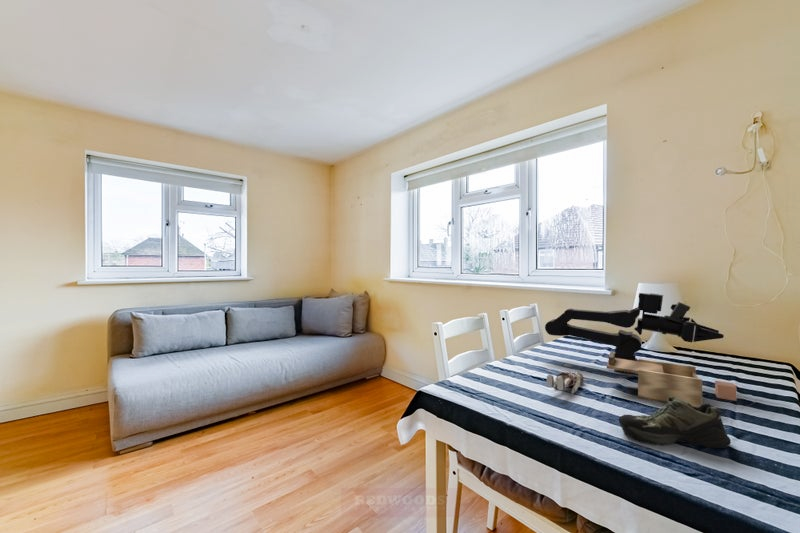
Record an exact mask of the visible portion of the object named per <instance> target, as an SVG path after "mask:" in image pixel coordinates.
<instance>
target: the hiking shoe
mask: <svg viewBox="0 0 800 533" xmlns="http://www.w3.org/2000/svg"><path fill="white" fill-rule="evenodd" d="M723 413H724V411H721V410H719V409H718V408H717V407H716V406H714V405H713V404H710V403H702V405H701V406H700V407H694V406H692V405H691V404H690V403H688V402H685V401H682V400H680V399H678V398H676V399H675V398H674V397H668V400H667V402H666V403H664V405H662V406H661V407H660V408H658V409H657V410H655V411H654V412H653V413H652V414H650V415H646V414H645V415H644V414H642V415H633V414H623V415H621V416H619V418H618V423H619V425H620V427H621V430H622V431H623V433H624V434H625V435H626V436H627V437H630V439H633V440H635V441H637V442H639V443H643V444H650V445H655V446H666V445H672V444H674V443H676V442H682V443H688V444H692V445H696V446H700V447H705V448H711V449H712V448H713V449H724V448H727V447H728V446H730V445H731V443H732V439H731V438H730V437H729V436H728V434H727V433H726V429H725V426H724V423H723V420H722V414H723Z"/></svg>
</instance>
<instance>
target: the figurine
mask: <svg viewBox="0 0 800 533" xmlns="http://www.w3.org/2000/svg"><path fill="white" fill-rule="evenodd" d="M584 382H585V377H584V375H583V374H582V373H580V372H579V371H578V372H571V371H568V372H567V371H566V372H561V373H559V374H558V375H556V378H555V379H554V376H553V375H552V374H548V375H547V376H546V386H547V388H553V389H554V390H559V391H565V389H566V388H567V389H568V388H569V387H571V386H572V388H571V393H570V394H571V395H574V394H575V393H576V392H577V390H578V389H579V387H580V385H581V384H583V383H584Z"/></svg>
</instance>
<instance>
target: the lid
mask: <svg viewBox="0 0 800 533" xmlns="http://www.w3.org/2000/svg"><path fill="white" fill-rule="evenodd" d="M606 369H608V370H619V371H625V372H631V373H636V374H637V375H638V369H640V370H647V371H653V372H659V373H664V372H663V367H662V365H660V364H654V363H647V362H640V361H638V360H637V361H633V360H626V359H619V358H615V351H610V352H609V355H608V360H607V364H606ZM619 371H618V372H619ZM625 372H624V373H625ZM631 373H630V374H631Z"/></svg>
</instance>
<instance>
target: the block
mask: <svg viewBox="0 0 800 533" xmlns="http://www.w3.org/2000/svg"><path fill="white" fill-rule="evenodd" d="M737 388H738V387H737V386H736V384H734V383H733V382H726V381H720V380H715V381H714V394H715V396H716V398H718V399H724V400H728V401H734V402H737V397H738V396H737V393H738V392H737Z"/></svg>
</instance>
